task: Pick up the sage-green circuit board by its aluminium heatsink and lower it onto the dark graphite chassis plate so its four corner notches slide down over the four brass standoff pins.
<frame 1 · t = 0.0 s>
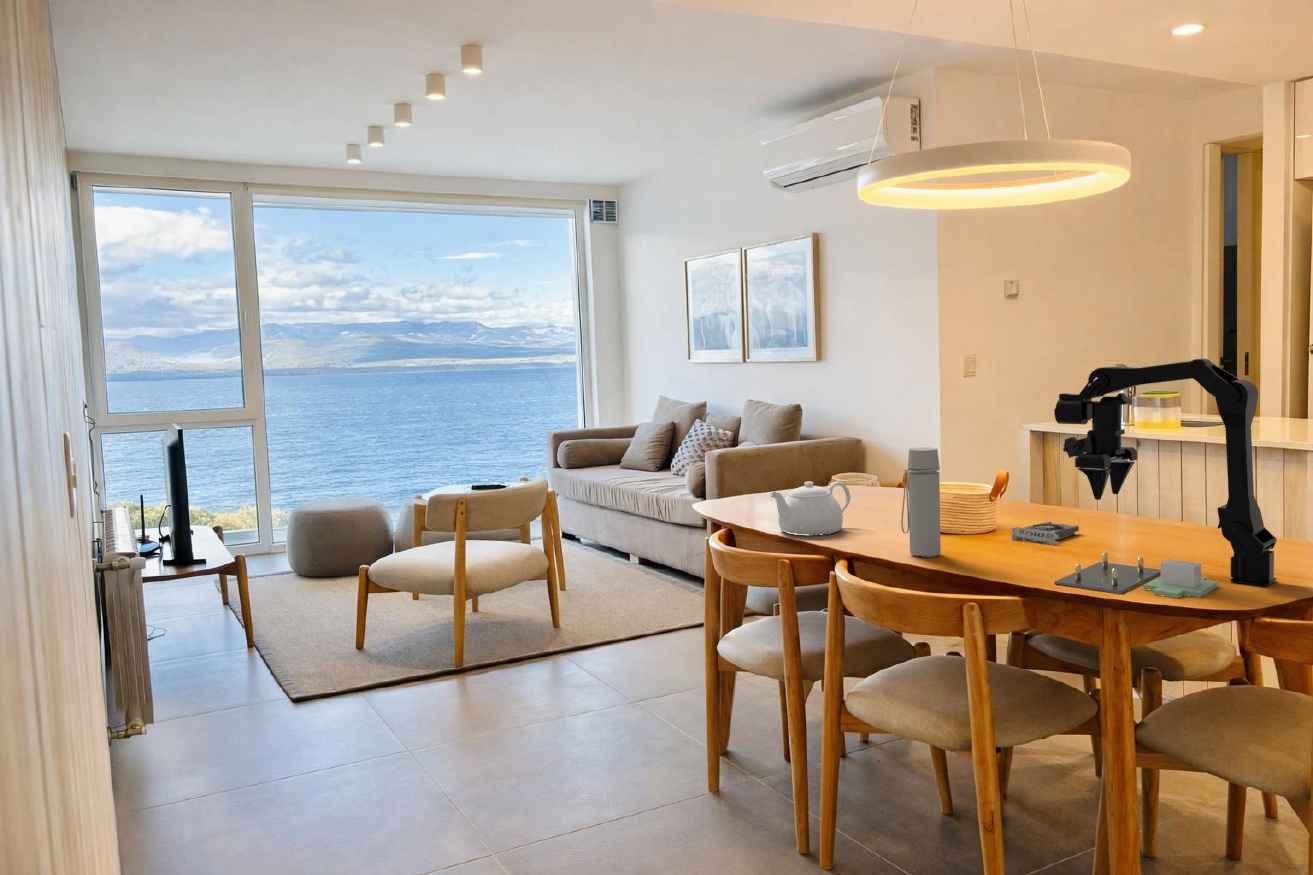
hand: (1106, 496, 212), 15 cm above the table, fingers open, 9 cm apart
teapot: (812, 531, 265), on the table
circuit board: (1180, 588, 191), on the table
graphics card: (1050, 540, 243), on the table
chassis: (1109, 578, 200), on the table
water bottle: (921, 555, 230), on the table
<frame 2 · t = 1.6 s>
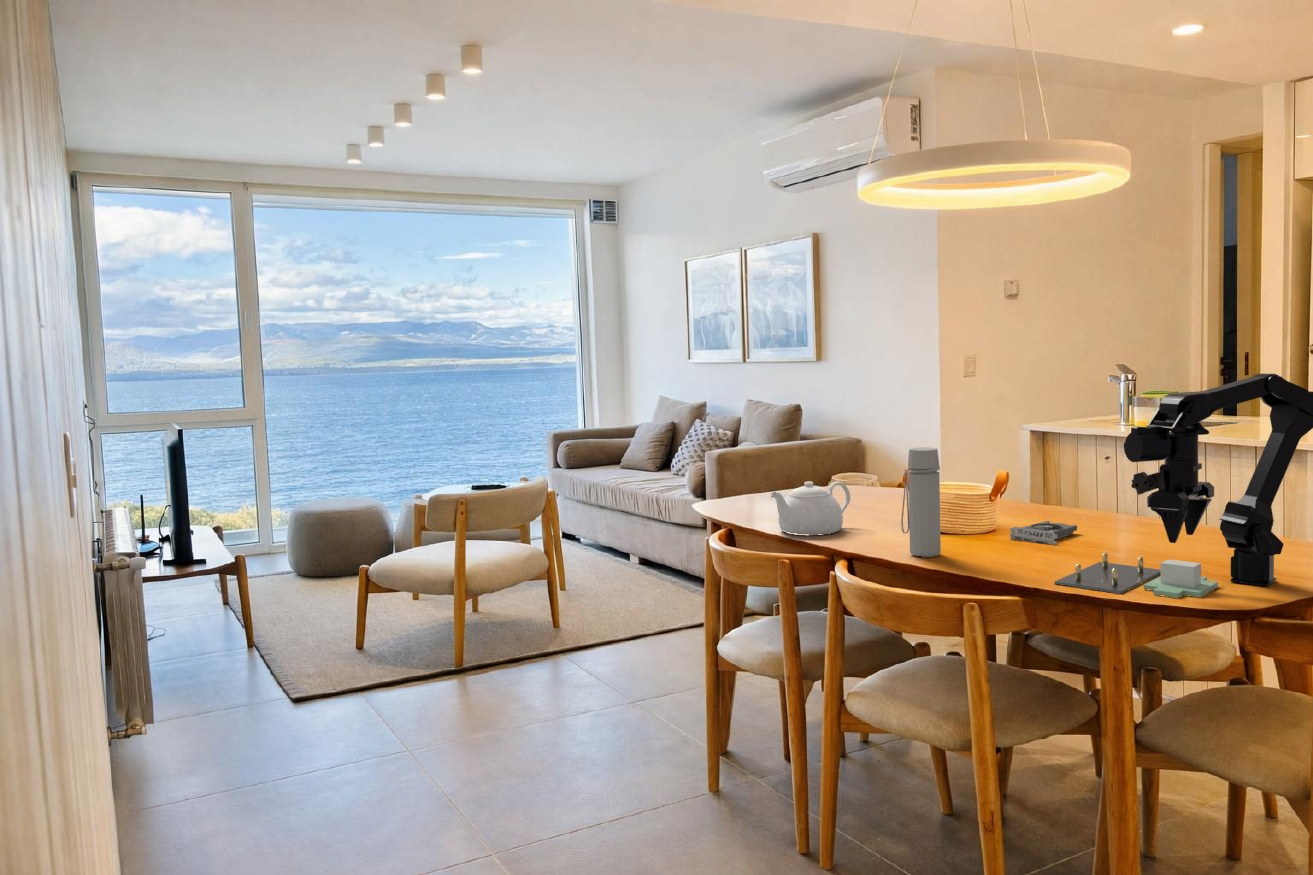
hand: (1181, 538, 190), 10 cm above the table, fingers open, 9 cm apart
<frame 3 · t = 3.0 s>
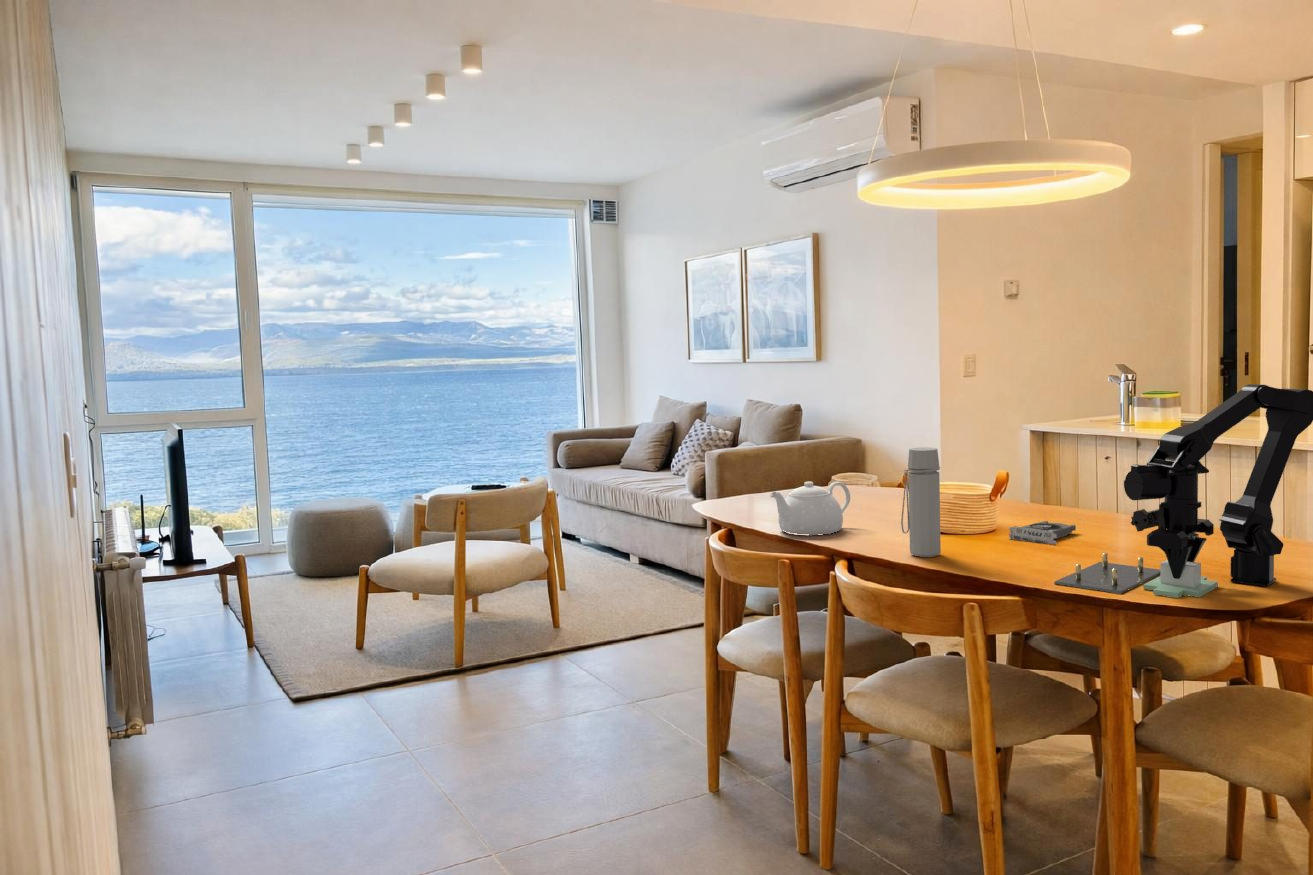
hand: (1180, 576, 190), 2 cm above the table, fingers closed on circuit board, 4 cm apart
circuit board: (1180, 588, 191), on the table, touching gripper
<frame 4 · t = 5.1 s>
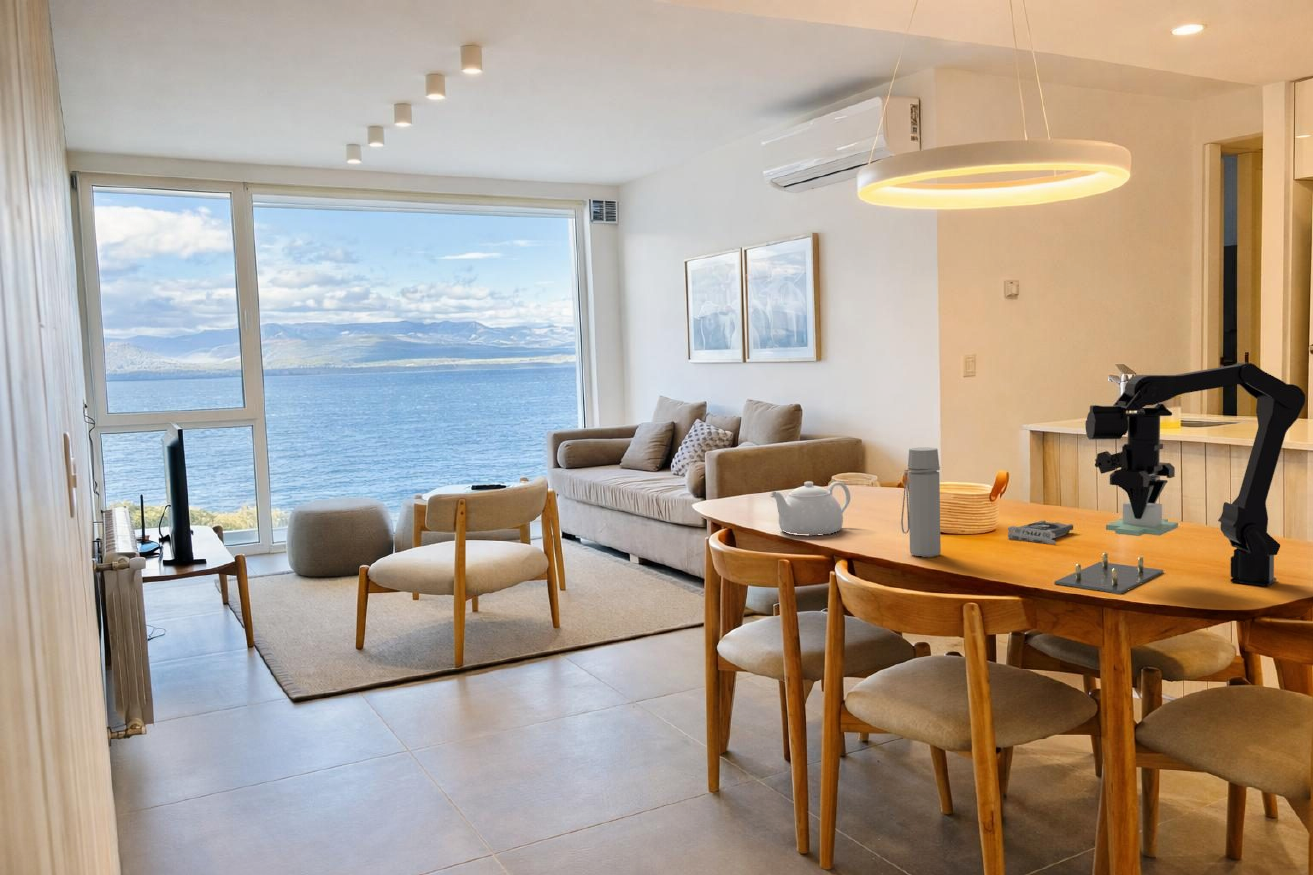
hand: (1142, 517, 194), 13 cm above the table, fingers closed on circuit board, 4 cm apart
circuit board: (1141, 528, 194), point 11 cm above the table, touching gripper
when the fingers open (4 cm above the table, at t = 7.6 s): circuit board stays where it is, resting on chassis.
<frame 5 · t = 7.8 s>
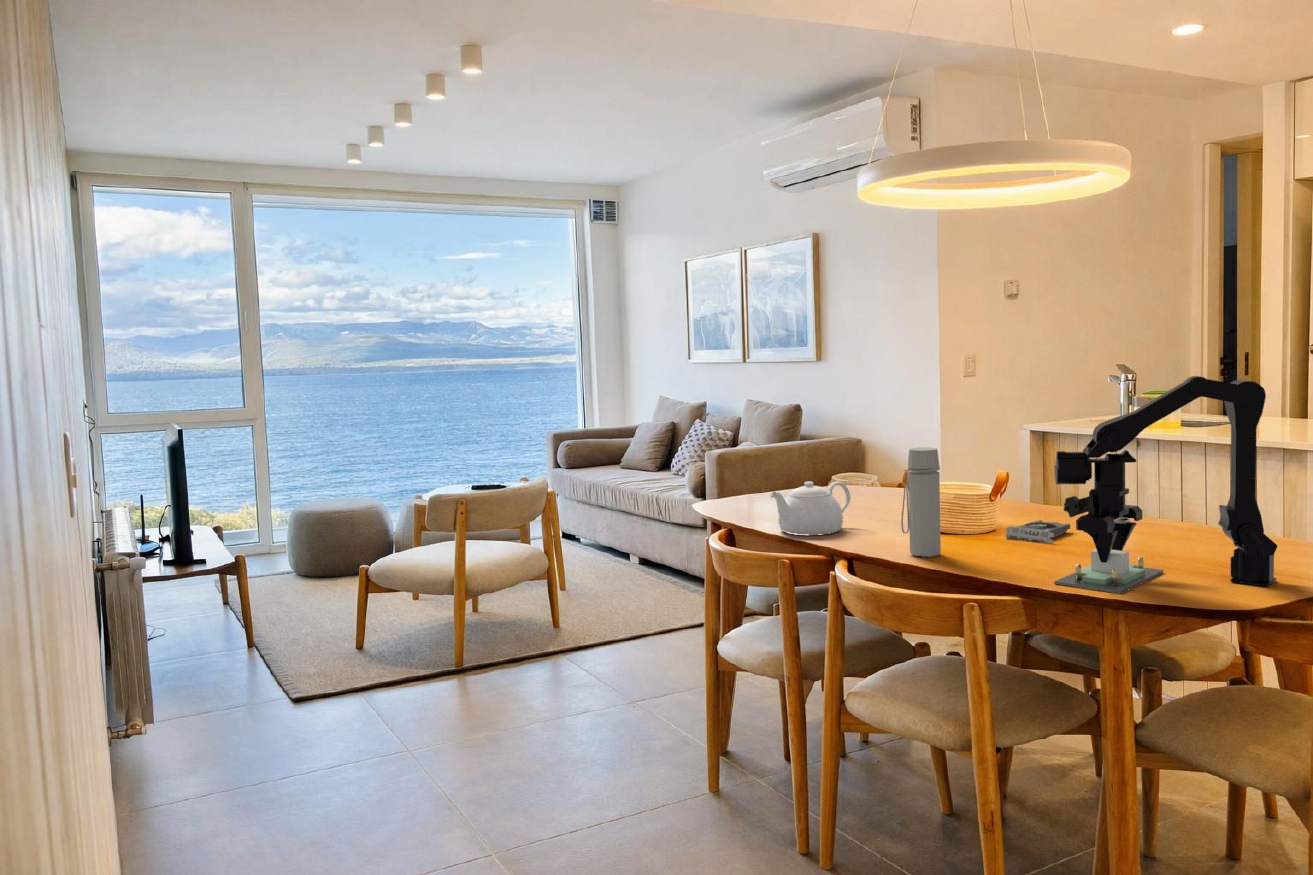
hand: (1109, 559, 200), 4 cm above the table, fingers open, 6 cm apart
circuit board: (1110, 575, 200), point 1 cm above the table, touching chassis
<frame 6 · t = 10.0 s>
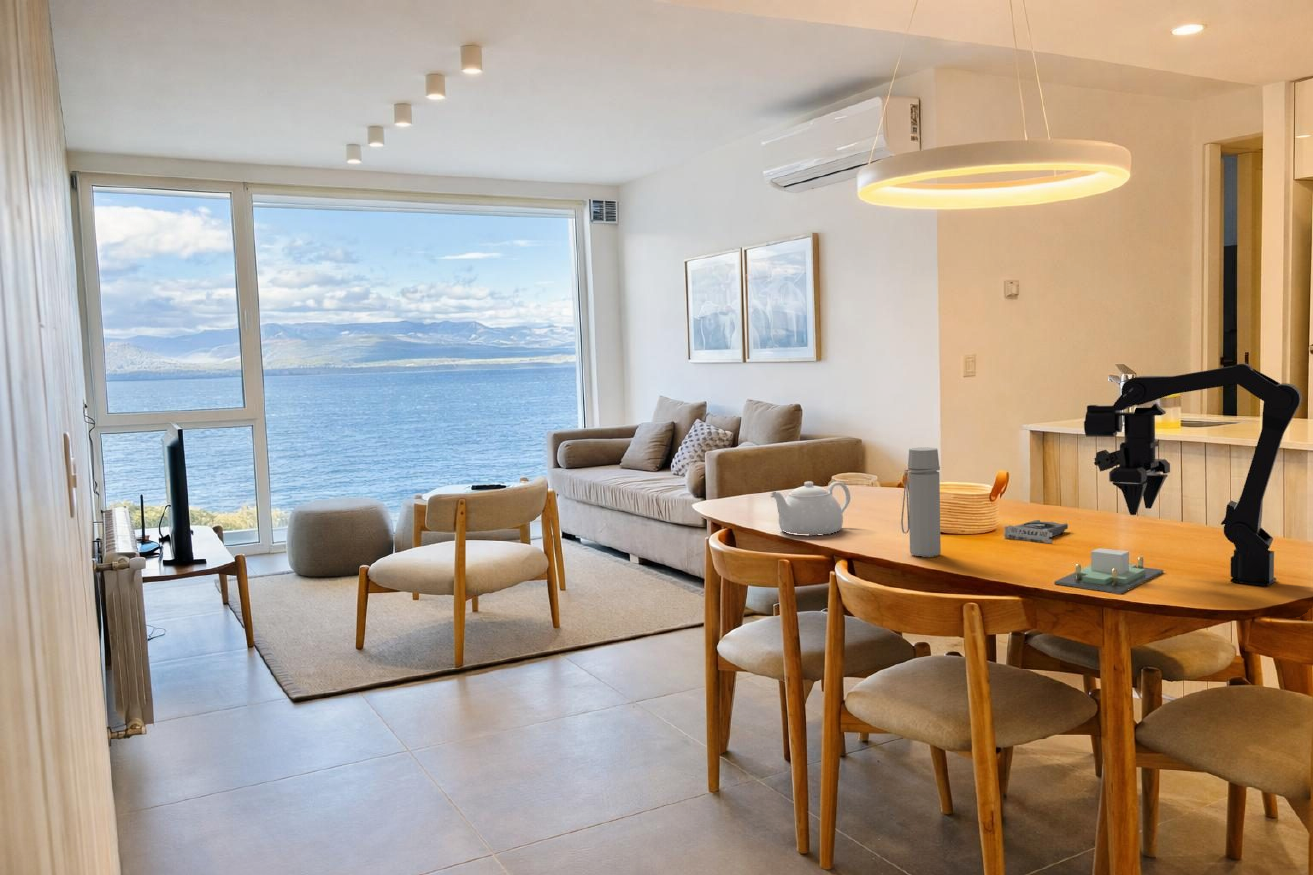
hand: (1140, 511, 204), 13 cm above the table, fingers open, 9 cm apart
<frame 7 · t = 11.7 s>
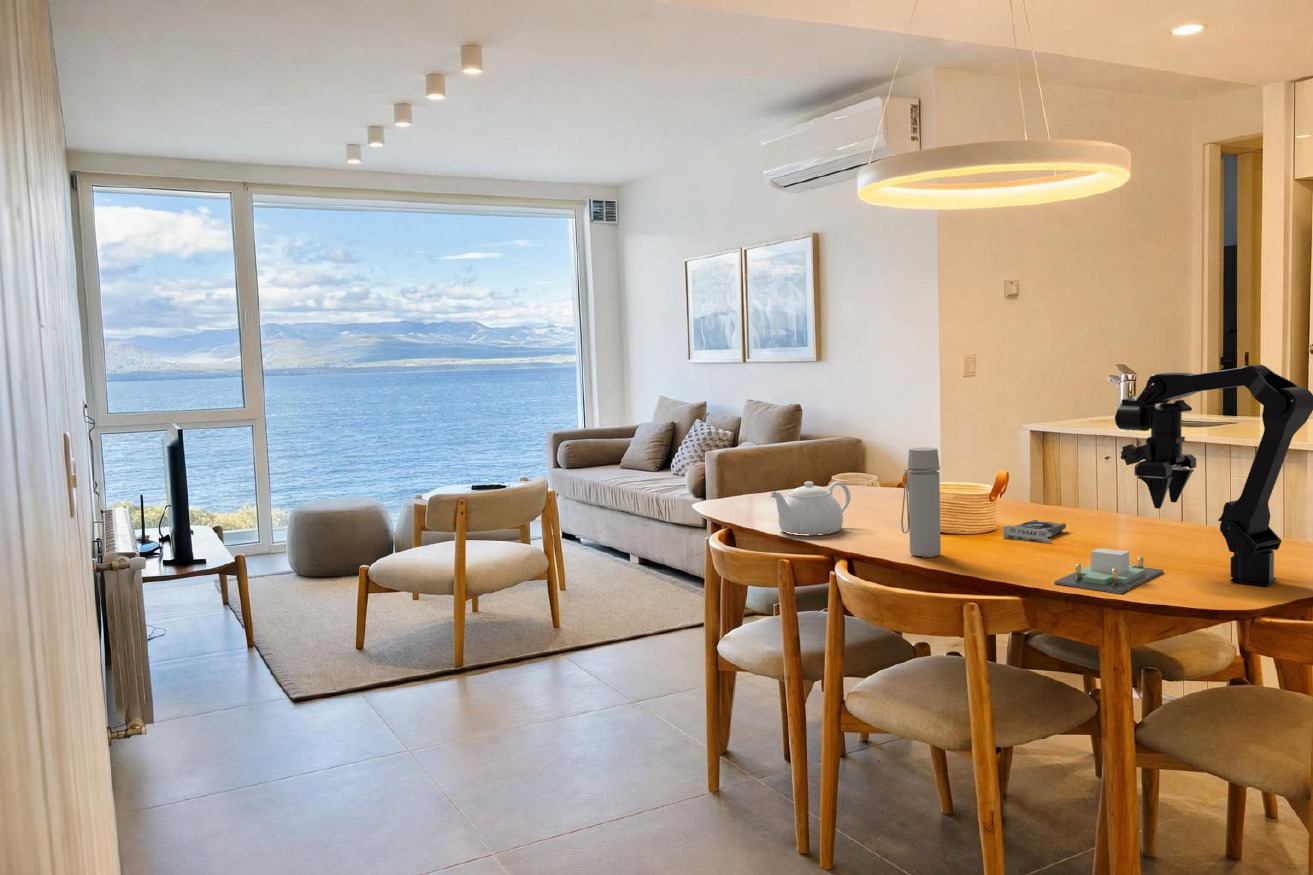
hand: (1165, 505, 208), 13 cm above the table, fingers open, 9 cm apart
at the end: circuit board 0.0 cm off-centre on the chassis, point 0.6 cm above the chassis's base; circuit board tilted 0°; the gripper is holding nothing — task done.
